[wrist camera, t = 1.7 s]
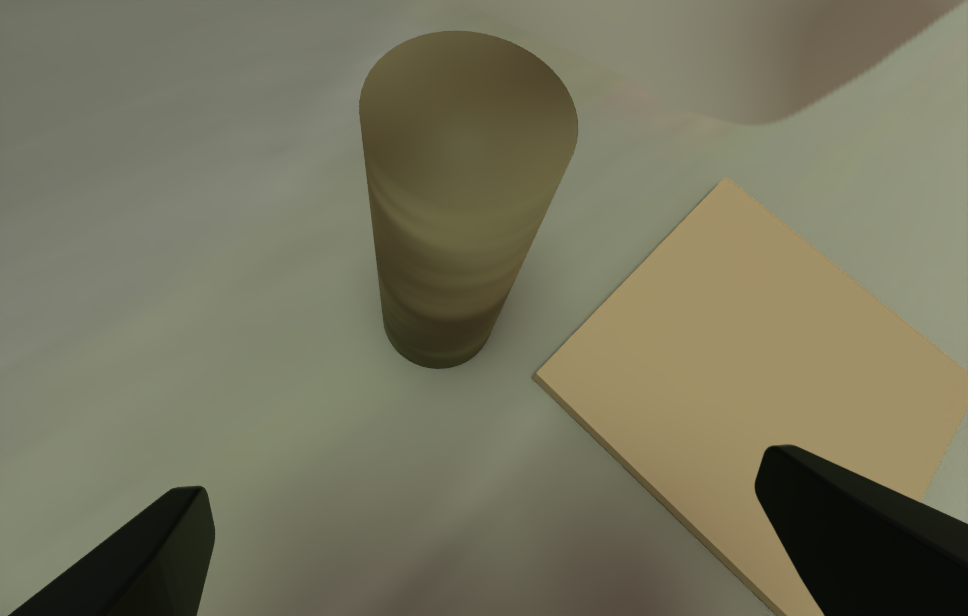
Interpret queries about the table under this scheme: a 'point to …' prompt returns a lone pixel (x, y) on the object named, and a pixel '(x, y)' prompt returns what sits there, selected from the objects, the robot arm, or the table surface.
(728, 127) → the table surface
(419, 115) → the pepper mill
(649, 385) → the beige square board
